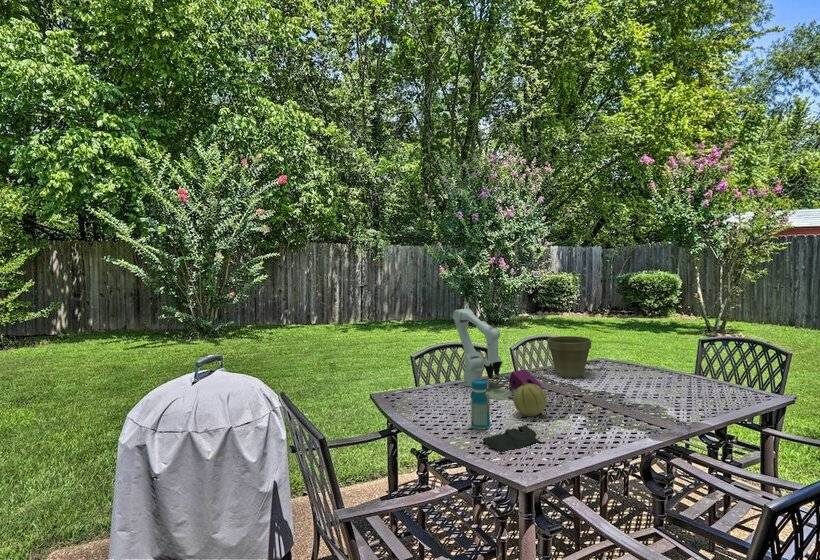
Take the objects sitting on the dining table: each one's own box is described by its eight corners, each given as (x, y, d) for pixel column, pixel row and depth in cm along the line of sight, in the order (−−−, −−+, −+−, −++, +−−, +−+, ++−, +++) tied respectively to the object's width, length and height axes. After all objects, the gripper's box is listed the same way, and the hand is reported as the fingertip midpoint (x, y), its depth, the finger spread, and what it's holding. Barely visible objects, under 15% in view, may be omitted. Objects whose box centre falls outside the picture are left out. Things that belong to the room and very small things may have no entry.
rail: (471, 395, 260) (471, 383, 259) (479, 391, 267) (478, 379, 267) (503, 400, 249) (502, 388, 249) (510, 395, 257) (509, 383, 256)
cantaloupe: (550, 420, 218) (549, 387, 217) (516, 421, 219) (515, 387, 218) (542, 409, 233) (542, 378, 232) (511, 410, 234) (510, 379, 233)
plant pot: (545, 370, 307) (544, 335, 306) (586, 369, 304) (586, 335, 302) (551, 380, 282) (550, 343, 281) (596, 380, 279) (595, 342, 278)
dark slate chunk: (477, 442, 197) (476, 431, 197) (519, 431, 208) (519, 420, 207) (501, 456, 184) (500, 443, 184) (545, 443, 194) (545, 431, 194)
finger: (487, 391, 266) (487, 382, 265) (491, 389, 269) (490, 380, 269) (495, 392, 263) (495, 383, 263) (498, 390, 266) (498, 381, 266)
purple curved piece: (541, 402, 263) (520, 381, 277) (546, 389, 259) (525, 369, 273) (528, 405, 258) (507, 383, 272) (532, 392, 255) (511, 371, 268)
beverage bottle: (477, 431, 208) (476, 384, 207) (467, 425, 216) (466, 380, 215) (494, 427, 212) (493, 382, 210) (483, 421, 219) (482, 377, 218)
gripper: (493, 354, 256) (494, 380, 257) (505, 349, 268) (506, 374, 269) (481, 353, 260) (482, 378, 261) (493, 348, 272) (494, 372, 273)
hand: (493, 376), depth 265 cm, fingers open, 7 cm apart
